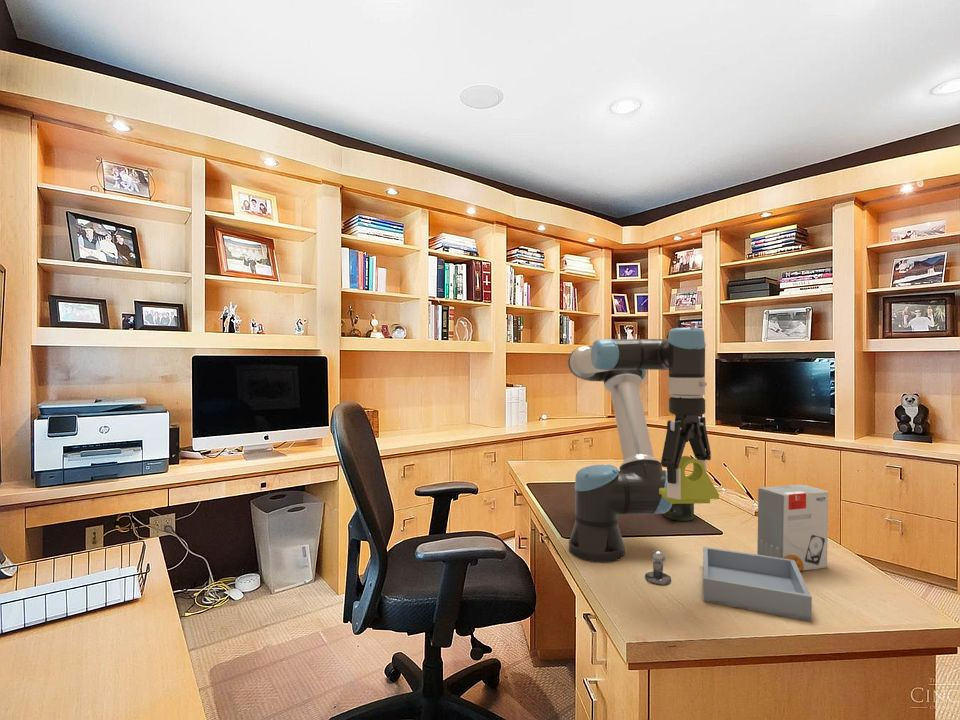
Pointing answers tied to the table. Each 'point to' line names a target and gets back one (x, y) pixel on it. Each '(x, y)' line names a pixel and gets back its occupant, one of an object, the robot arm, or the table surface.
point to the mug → (680, 512)
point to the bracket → (693, 484)
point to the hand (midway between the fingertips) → (687, 492)
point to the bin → (755, 583)
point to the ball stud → (658, 570)
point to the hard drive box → (794, 524)
